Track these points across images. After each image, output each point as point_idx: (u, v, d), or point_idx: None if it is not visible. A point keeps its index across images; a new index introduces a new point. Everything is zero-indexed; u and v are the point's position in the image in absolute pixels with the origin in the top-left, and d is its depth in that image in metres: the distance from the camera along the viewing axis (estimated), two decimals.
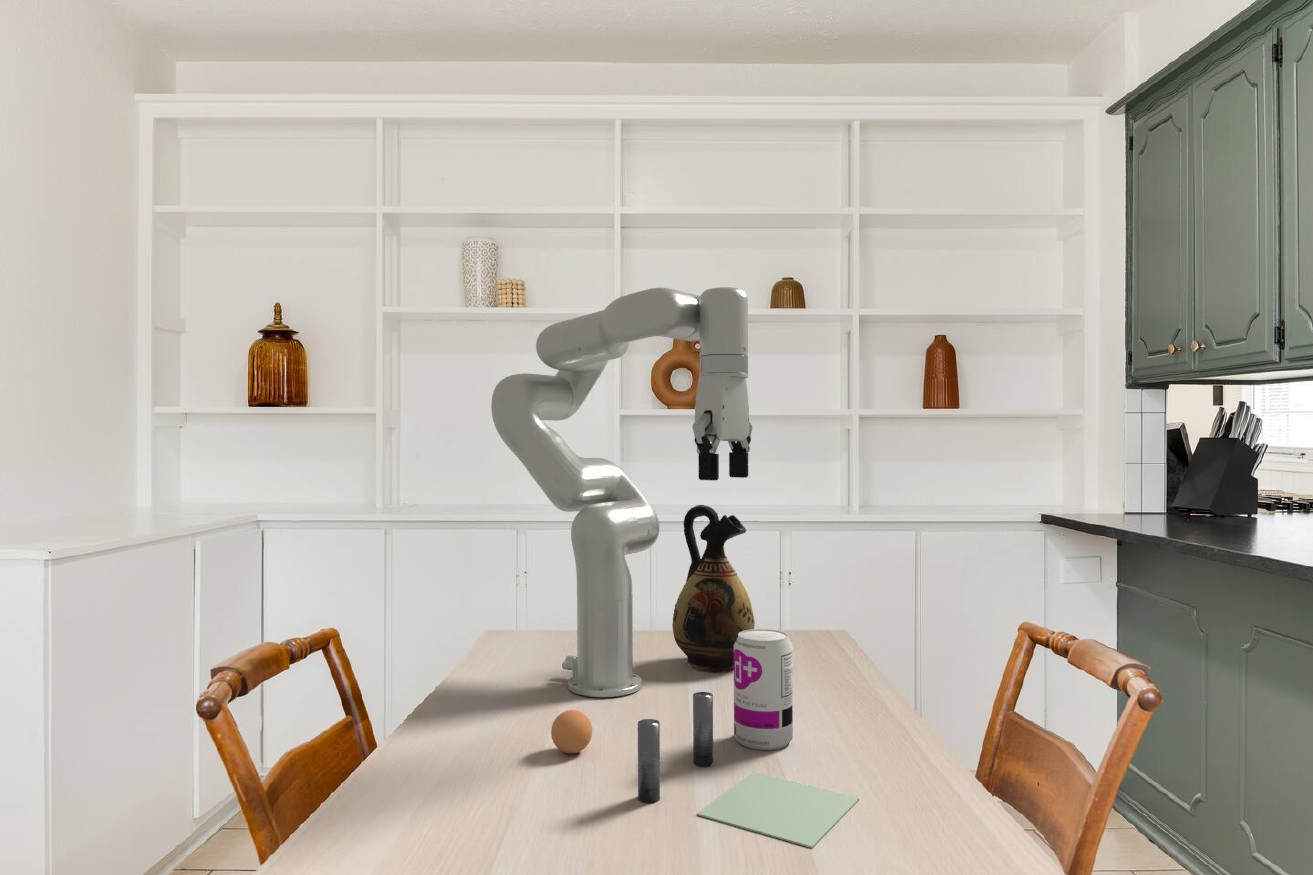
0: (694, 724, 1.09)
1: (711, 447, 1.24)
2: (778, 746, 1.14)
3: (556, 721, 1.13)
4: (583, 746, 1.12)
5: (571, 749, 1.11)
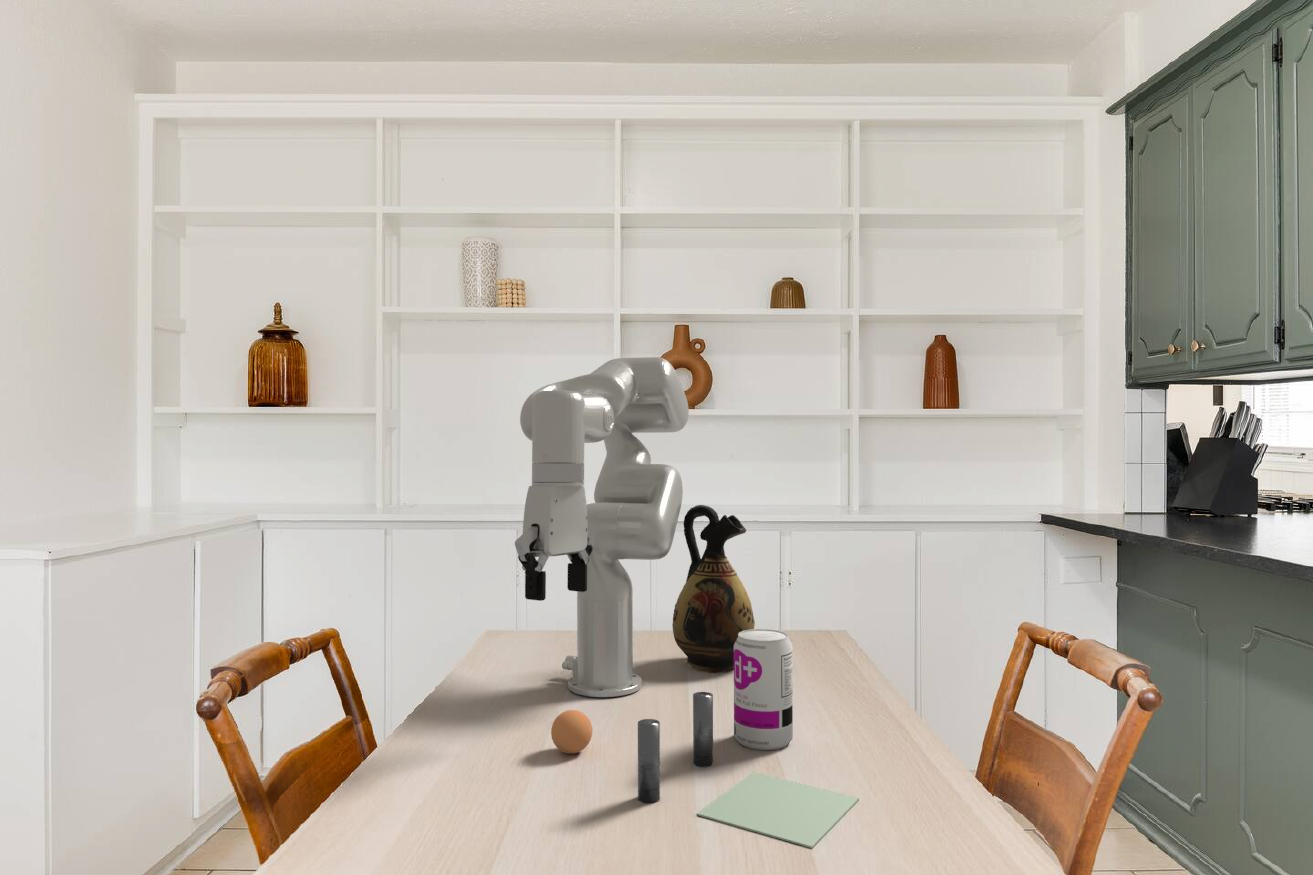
0: (694, 724, 1.09)
1: (536, 565, 1.14)
2: (778, 746, 1.14)
3: (556, 721, 1.13)
4: (583, 746, 1.12)
5: (571, 749, 1.11)
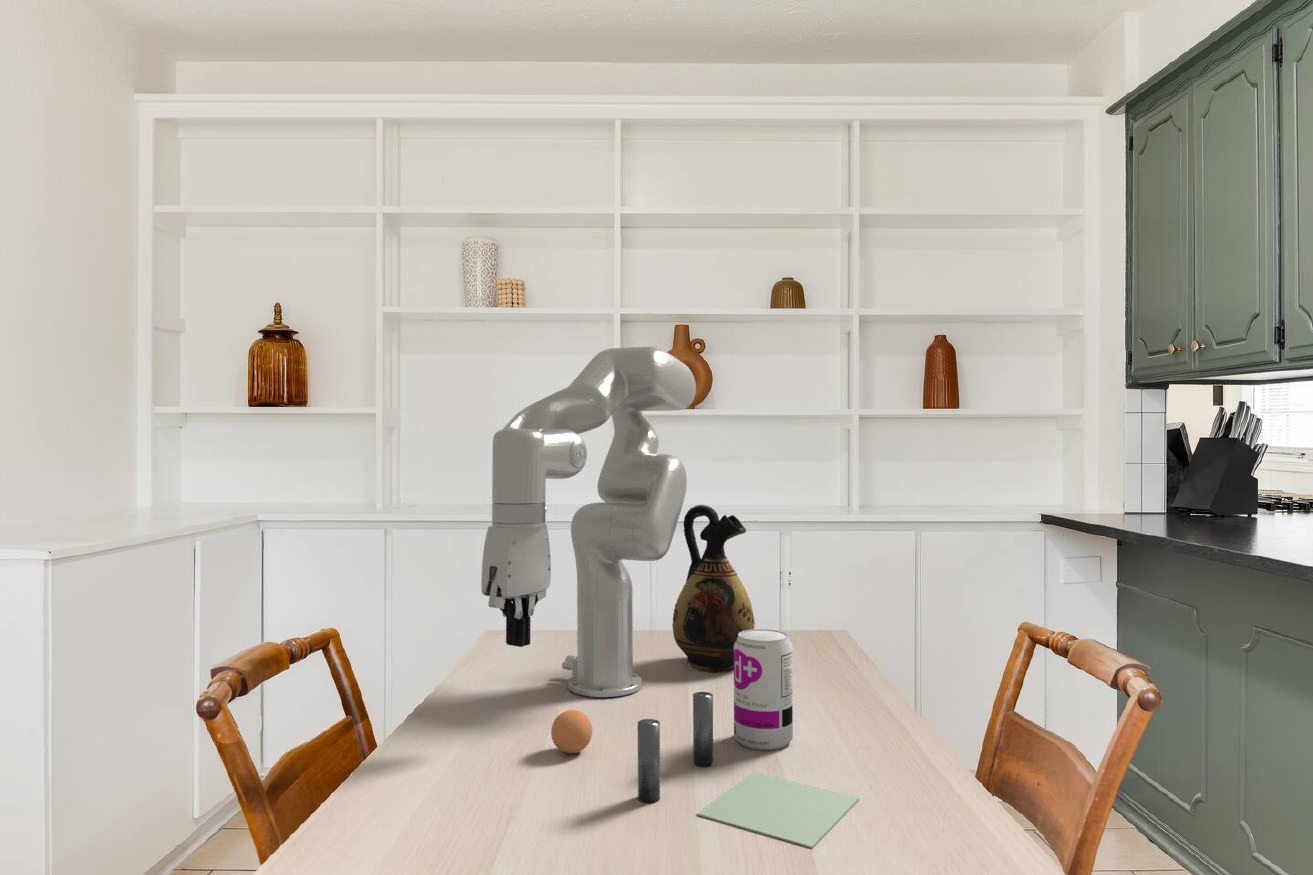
0: (694, 724, 1.09)
1: (515, 615, 1.17)
2: (778, 746, 1.14)
3: (556, 721, 1.13)
4: (583, 746, 1.12)
5: (571, 749, 1.11)
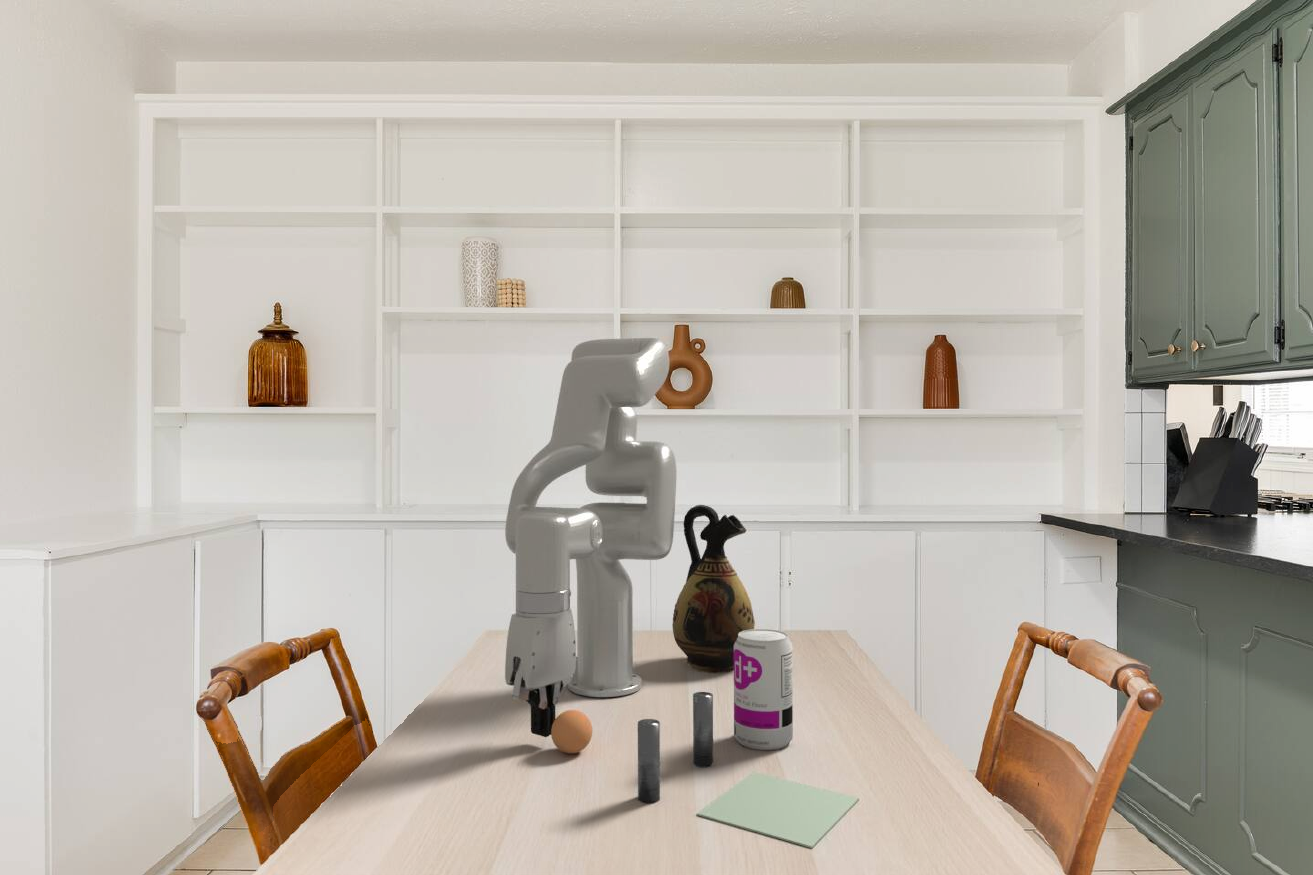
0: (694, 724, 1.09)
1: (540, 706, 1.14)
2: (778, 746, 1.14)
3: (556, 721, 1.13)
4: (583, 746, 1.12)
5: (571, 749, 1.11)
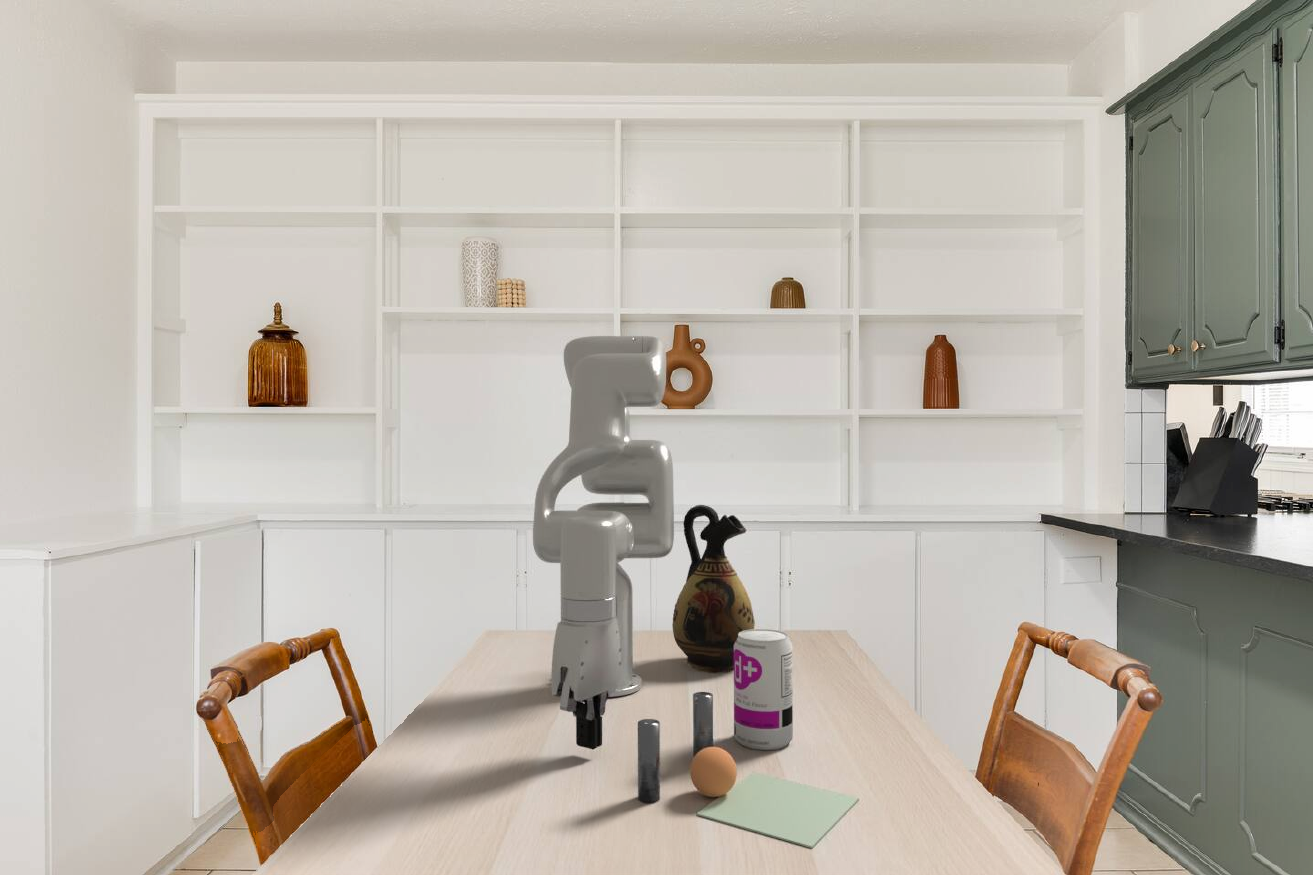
0: (694, 724, 1.09)
1: (587, 717, 1.10)
2: (778, 746, 1.14)
3: (717, 774, 0.97)
4: None
5: (693, 784, 1.00)
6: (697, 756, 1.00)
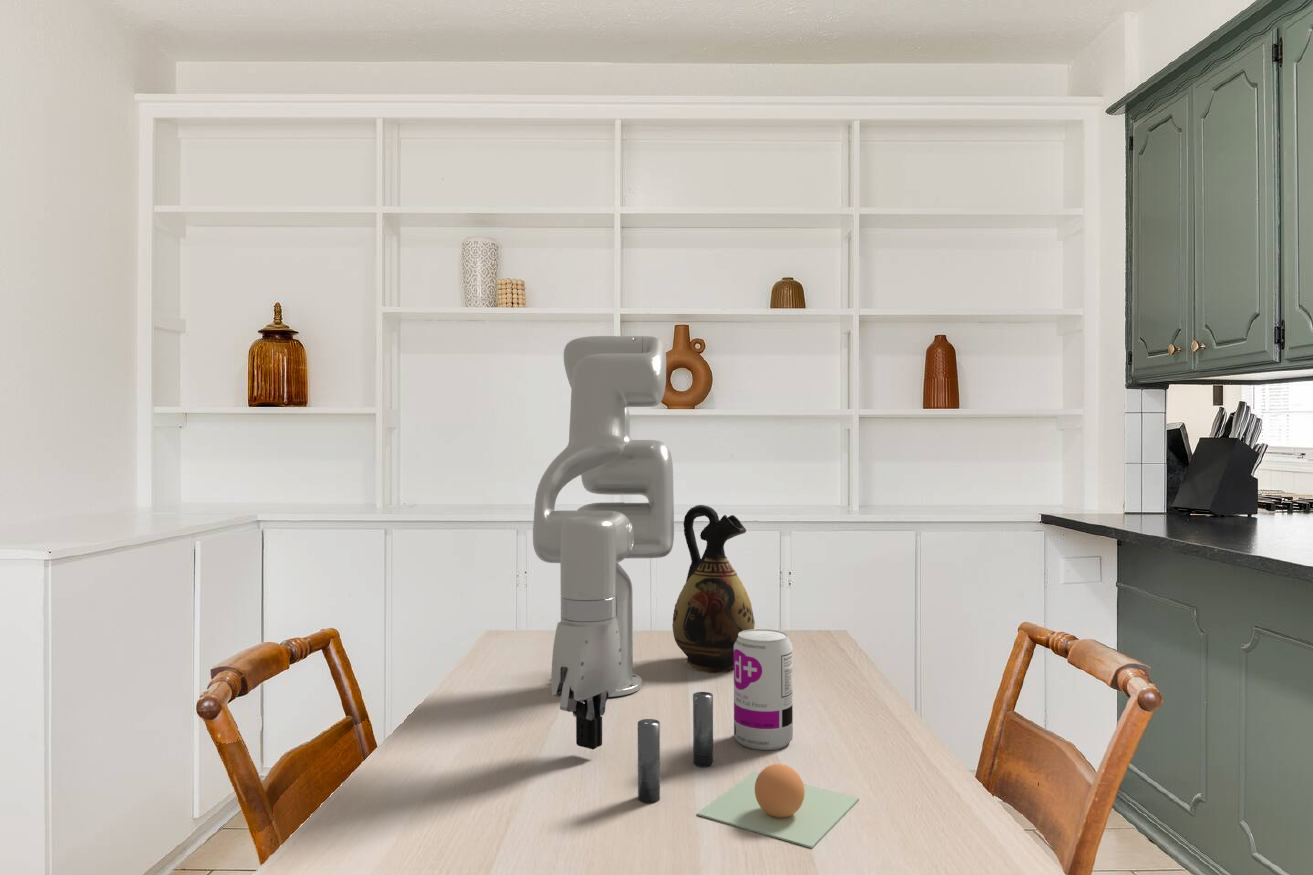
0: (694, 724, 1.09)
1: (587, 717, 1.10)
2: (778, 746, 1.14)
3: (756, 798, 0.94)
4: (792, 776, 0.93)
5: (786, 788, 0.92)
6: (782, 815, 0.93)
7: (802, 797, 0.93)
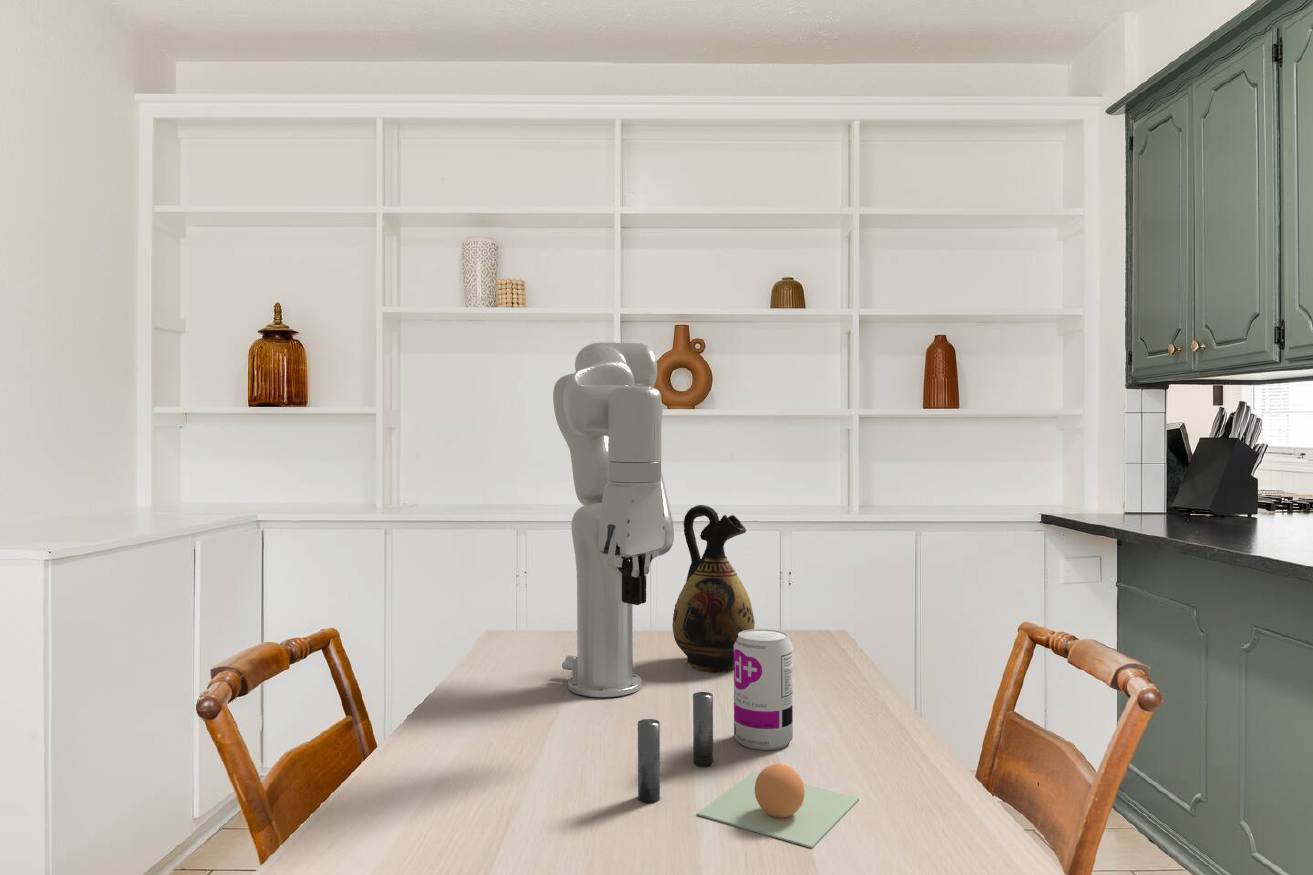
0: (694, 724, 1.09)
1: (632, 574, 1.16)
2: (778, 746, 1.14)
3: (756, 798, 0.94)
4: (792, 776, 0.93)
5: (786, 788, 0.92)
6: (782, 815, 0.93)
7: (802, 797, 0.93)
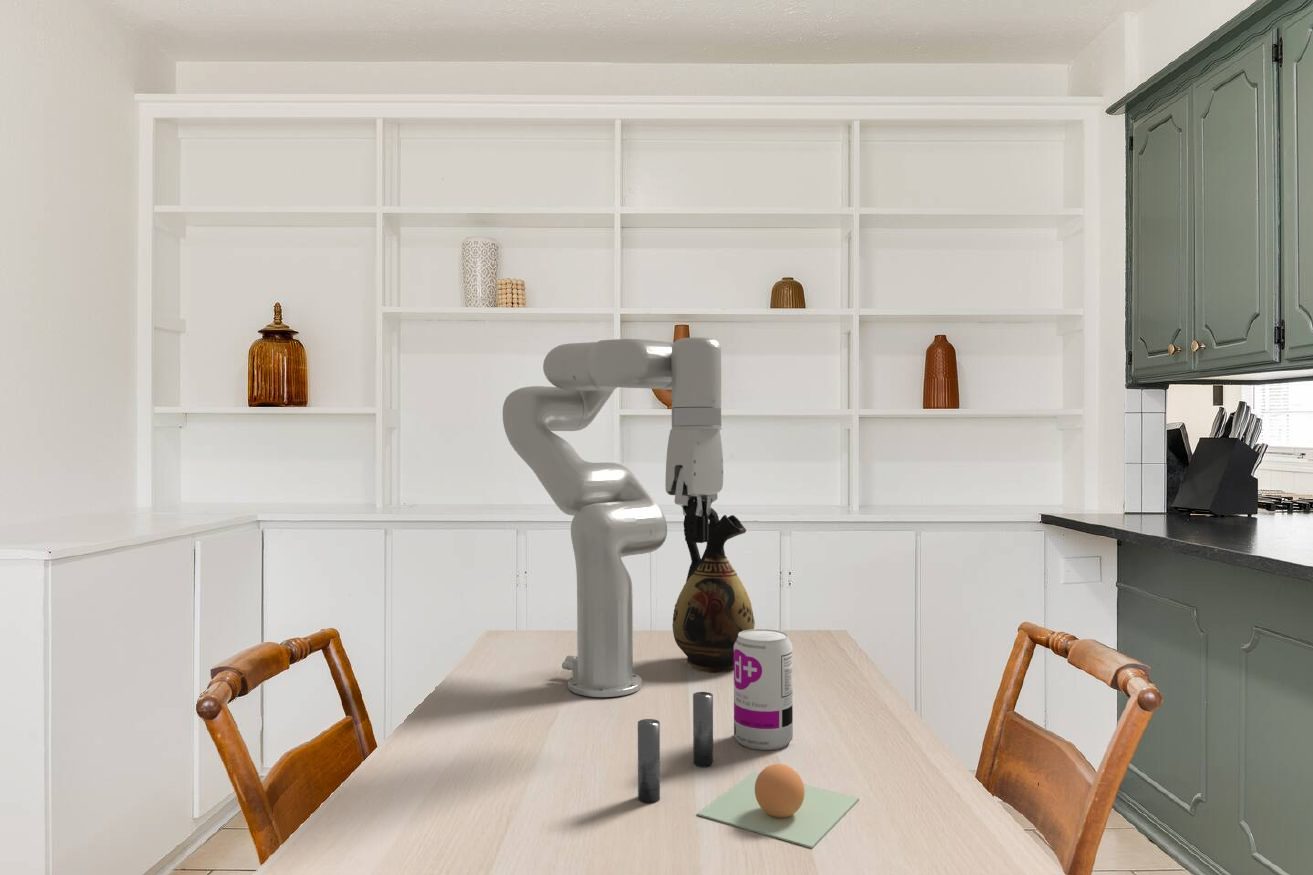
0: (694, 724, 1.09)
1: (697, 513, 1.24)
2: (778, 746, 1.14)
3: (756, 798, 0.94)
4: (792, 776, 0.93)
5: (786, 788, 0.92)
6: (782, 815, 0.93)
7: (802, 797, 0.93)
